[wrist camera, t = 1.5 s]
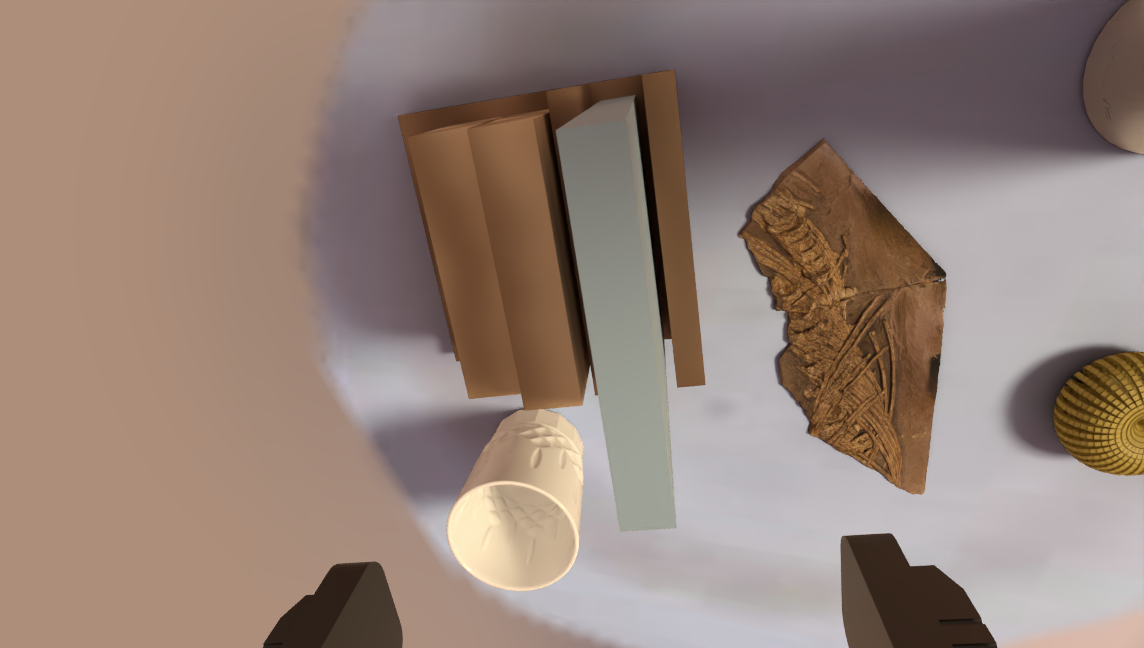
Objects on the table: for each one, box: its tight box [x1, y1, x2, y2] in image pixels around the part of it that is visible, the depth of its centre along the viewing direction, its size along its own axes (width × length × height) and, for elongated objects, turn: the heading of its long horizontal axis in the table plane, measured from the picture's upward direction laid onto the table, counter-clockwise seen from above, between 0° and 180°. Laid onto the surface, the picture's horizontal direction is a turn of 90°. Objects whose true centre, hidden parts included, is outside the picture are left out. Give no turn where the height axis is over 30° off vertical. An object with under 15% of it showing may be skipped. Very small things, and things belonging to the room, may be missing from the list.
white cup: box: [447, 409, 583, 591], centre depth 43 cm, size 8×8×10 cm
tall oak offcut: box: [467, 109, 590, 411], centre depth 36 cm, size 3×14×10 cm, turn 9°
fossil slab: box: [739, 138, 947, 494], centre depth 42 cm, size 26×11×1 cm, turn 20°
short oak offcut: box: [407, 117, 521, 399], centre depth 37 cm, size 3×14×8 cm, turn 9°
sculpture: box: [1053, 352, 1144, 476], centre depth 40 cm, size 8×4×8 cm
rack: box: [398, 70, 705, 395], centre depth 38 cm, size 16×16×8 cm
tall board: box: [556, 95, 676, 532], centre depth 30 cm, size 2×14×20 cm, turn 9°
